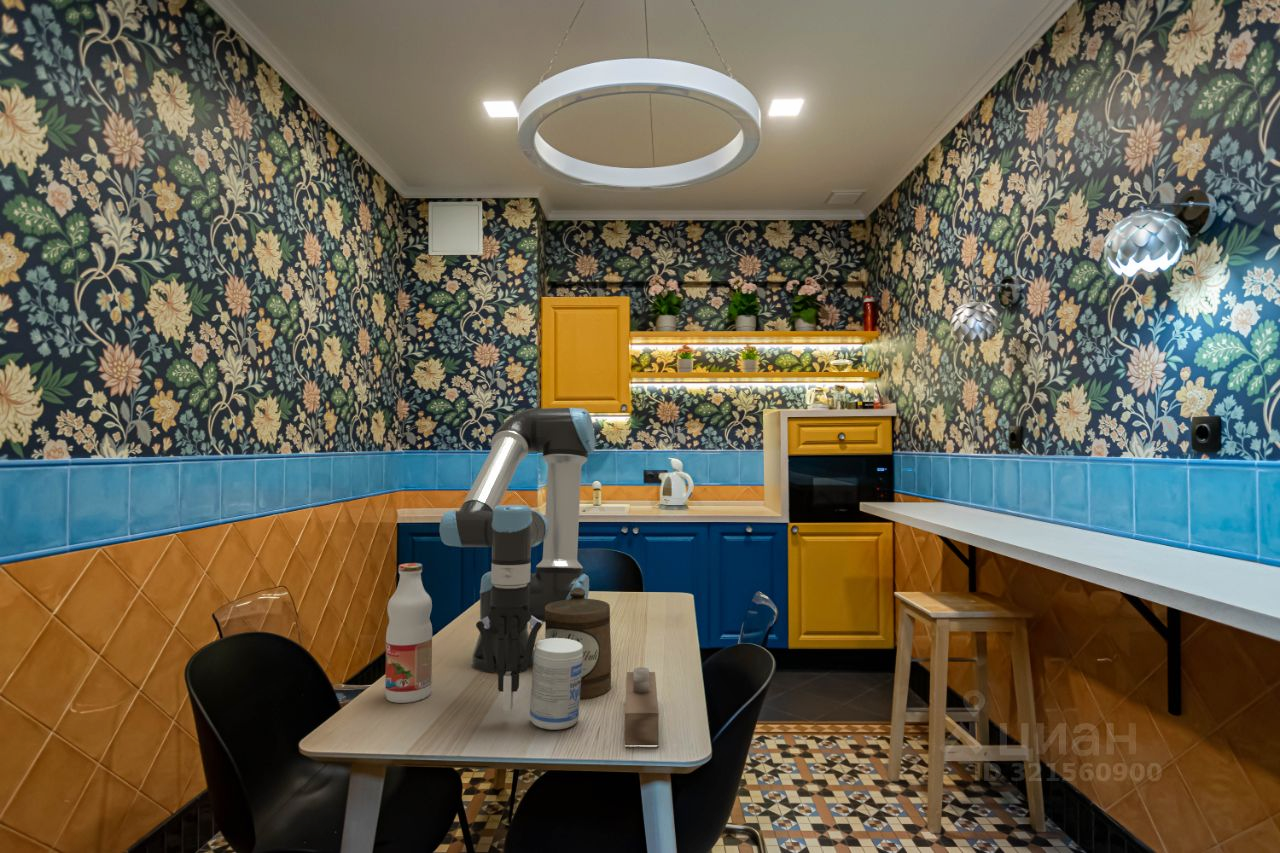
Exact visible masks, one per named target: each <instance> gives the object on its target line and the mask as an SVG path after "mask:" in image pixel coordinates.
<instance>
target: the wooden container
mask: <svg viewBox="0 0 1280 853" xmlns="http://www.w3.org/2000/svg"><path fill="white" fill-rule="evenodd" d="M570 596H571V597H572V598H571V599H568V600H561V601H556V602H552V603H550V604H547V605H546V606H545V622H544V623H545V624H544V625H545V628H544V631H545V632H544V635H545V636H544V639H549V638H565V639H571V640H575V641H578V642H579V643H581V644H582V646H583V650H582V652H583V660H582V674H581V689H580V700H585V699H590V698H595V697H599V696H601V695H604V694H605V693H607V692H608V691H610V689H611V686H612V644H611V639H612V638H611V607H610V606H611V605H610V604H609V603H608V602H607V601H604V600H601V599H593V598H588V599H585V598H584V596H585V590H583V589H582V588H574V589H573V590H571V591H570ZM584 698H585V699H584Z"/></svg>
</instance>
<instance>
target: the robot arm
mask: <svg viewBox="0 0 1280 853" xmlns="http://www.w3.org/2000/svg"><path fill="white" fill-rule="evenodd" d="M595 438H596V436H595V429H594V424H593V420H592V416H591V414H590V412H589V411H588V410H587V409H585V408H579V407H576V408H575V407H572V406H571V407H552V408H551V407H550V408H548V407H547V408H545V407H544V408H541V407H540V408H539V407H538V408H537V407H536V408H535V407H533V408H527V409H524V410H521V411H519V412H517V413H516V414H514V415H512V416H511V417H510V418H507V420H506V421H504V423H502V424H501V425H500V426H499V427H498V429H497V430H496V431H495V433H494V435H493V436H492V439H491V445H490V446H491V449H490V452H489V453H488V454H487V457H486V459H485V461H484V463H483V464H482V467H481V468H480V471H479V472H478V475H477V477H476V478H475V480H474V482H473V484H472V485H471V487H470V490H469V492H468V494H467V495H466V496H465V497H466V498H465V499H464V501H463V503H462V504H461V506H460V509H459V510H456V509H454V510H449V511H446V512H444V513H443V514H442V517H441V519H440V522H439V536H440V539H441V542H442V543H443V544H444V545H446V546H448V547H459V548H491V569H490V570H491V571H488V572H486V573H484V574H483V575H482V577H481V580H480V590H479V601H480V602H479V608H480V609H479V620H478V621H477V622H476V624H475V626H476V628H477V630H478V631H479V636H478V638H477V641H476V644H475V646H474V647H475V648H474V650H473V653H472V658H471V659H472V664H471V665H472V668H474V669H475V670H478V671H481V672H487V673H496V674H497V676H498V677H497V682H498V683H497V690H498V692H502V712H504V711H505V712H511V710H512V709H513V707H514V693H515V692H516V693H517V691H518V690H519V688H520V674H521V673H526V672H527V670H528V669H529V667H531V666H533V660H534V650H535V644H536V640H537V637H538V636H537V635H538V632H539V630H540V629H541V627H542V626H543V624H544V623H546V622H545V606H546V605H547V604H550V603H552V602H556V601H561V600H568V599H571V598H572V597H571V596H570V591H571V590H573V589H574V588H582V589H583V590H585V596H584V598H585V599H589V591H590V578H589V576H588V575H587V574H586V573H583V570H584V567H583V566H582V564H581V563H580V562H579V560H578V549H579V548H578V547H579V545H578V544H579V528H580V527H579V526H580V524H579V522H580V521H579V520H580V505H581V504H580V503H581V502H580V500H581V499H580V498H581V481H582V479H581V478H582V467H583V465H584V464H585V463H587V461H588V458H589V457H588V454H591V453H593V452H594V451H595V445H596V439H595ZM531 453H542V460H543V461H544V462H545V463H546V465H547V476H546V480H547V481H546V491H545V492H546V494H545V496H546V497H545V510H544V511H545V513H544V514H543V513H541V512H539V511H537V510H532V508H531V507H530V506H529V505H525V504H501V503H502V500H503V499H504V496H505V494H506V492H507V490H508V487H509V486H510V483H511V481H512V479H513V477H514V474H516V470H517V468H518V466H519V464H520V462H521V461H523V460H524V459H525V458H526V457H527V456H528V454H531ZM542 542H543V549H542V550H543V551H542V560H541V561H540V562H538V564H536V566H535V573H532V572H531V568H532V567H531V565H532V564H531V559H532V558H531V556H532V555H531V554H532V553H531V552H532V548H535V547H537V546H539V545H540V544H541V543H542ZM528 623H529V629H530V633H529V631H528V630H529V629H528Z"/></svg>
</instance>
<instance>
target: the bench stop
mask: <svg viewBox="0 0 1280 853" xmlns="http://www.w3.org/2000/svg"><path fill="white" fill-rule="evenodd" d="M656 678H657V677H656V671H650V670H649V668H647V667H643V666H641V667H634V668H633V671H626V679H625V700H624V746H625V745H659V740H660V739H659V735H660V733H659V731H660V730H659V725H660V724H659V715H660V714H659V704H658V692H657V679H656ZM659 746H660V745H659Z"/></svg>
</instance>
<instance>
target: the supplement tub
mask: <svg viewBox="0 0 1280 853" xmlns="http://www.w3.org/2000/svg"><path fill="white" fill-rule="evenodd" d="M582 650H583V646H582V644H581V643H579V642H578V641H575V640H571V639H565V638H549V639H545V638H544V639H541V640H538V641H537V642H535V644H534V660H533V664H532V678H531V688H530V689H531V691H530V692H531V693H530V703H529V720H530V721H531V723H532V724H533V725H534V726H535V727H538V728H540V729H545V730H553V731H554V730H564V729H568V728H571V727H572V726H574V725H575V724H576V723H577V722H578V721H579V717H580V716H579V715H580V700H581V699H580V689H581V674H582V660H583V652H582Z"/></svg>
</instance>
